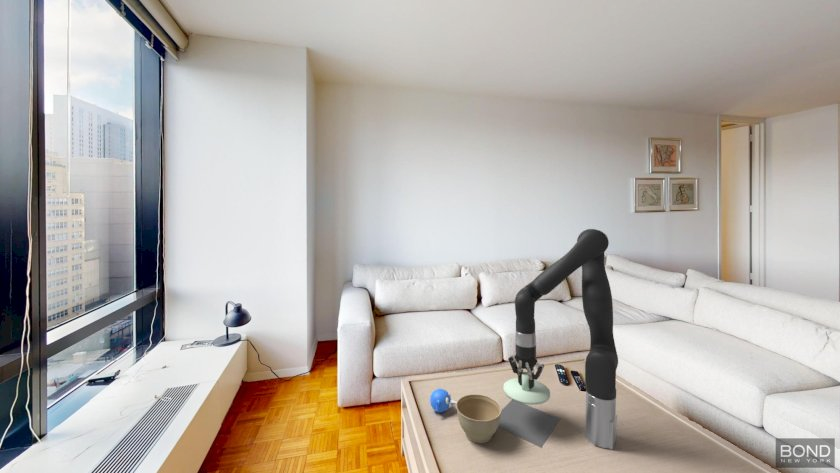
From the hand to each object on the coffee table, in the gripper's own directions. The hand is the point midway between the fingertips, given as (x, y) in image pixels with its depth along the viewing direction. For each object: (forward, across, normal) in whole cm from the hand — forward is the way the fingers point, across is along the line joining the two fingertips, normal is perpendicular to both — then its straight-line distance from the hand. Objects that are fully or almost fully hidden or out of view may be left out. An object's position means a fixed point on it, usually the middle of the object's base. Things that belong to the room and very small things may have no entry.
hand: (526, 386), depth 121 cm
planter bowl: (+15, +11, +18) cm, 25 cm away
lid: (+2, 0, 0) cm, 2 cm away
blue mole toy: (+14, +29, +15) cm, 35 cm away
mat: (+15, +1, 0) cm, 15 cm away
